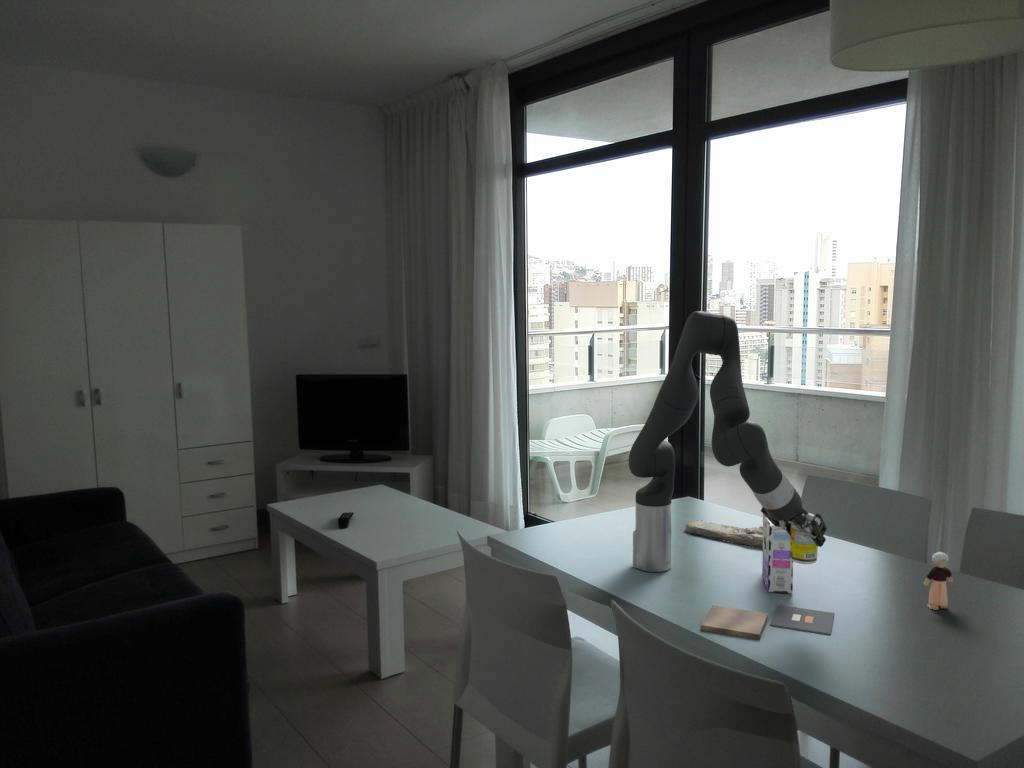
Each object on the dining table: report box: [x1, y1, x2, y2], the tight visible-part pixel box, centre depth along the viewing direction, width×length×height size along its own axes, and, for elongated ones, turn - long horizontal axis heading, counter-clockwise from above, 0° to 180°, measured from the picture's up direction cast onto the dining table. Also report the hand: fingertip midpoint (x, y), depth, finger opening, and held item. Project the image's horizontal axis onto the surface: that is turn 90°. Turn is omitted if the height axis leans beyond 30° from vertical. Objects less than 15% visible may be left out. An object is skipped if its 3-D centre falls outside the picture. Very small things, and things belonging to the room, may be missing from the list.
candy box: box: [761, 513, 794, 594], centre depth 193 cm, size 14×6×16 cm, turn 168°
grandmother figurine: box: [923, 551, 954, 611], centre depth 178 cm, size 8×4×13 cm, turn 117°
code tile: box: [769, 604, 835, 636], centre depth 172 cm, size 12×12×1 cm
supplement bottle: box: [790, 512, 819, 565], centre depth 170 cm, size 6×6×10 cm
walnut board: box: [700, 605, 769, 640], centre depth 170 cm, size 12×12×1 cm
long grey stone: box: [684, 520, 763, 549], centre depth 230 cm, size 35×5×10 cm
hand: (808, 539), depth 171 cm, fingers closed on supplement bottle, 5 cm apart
